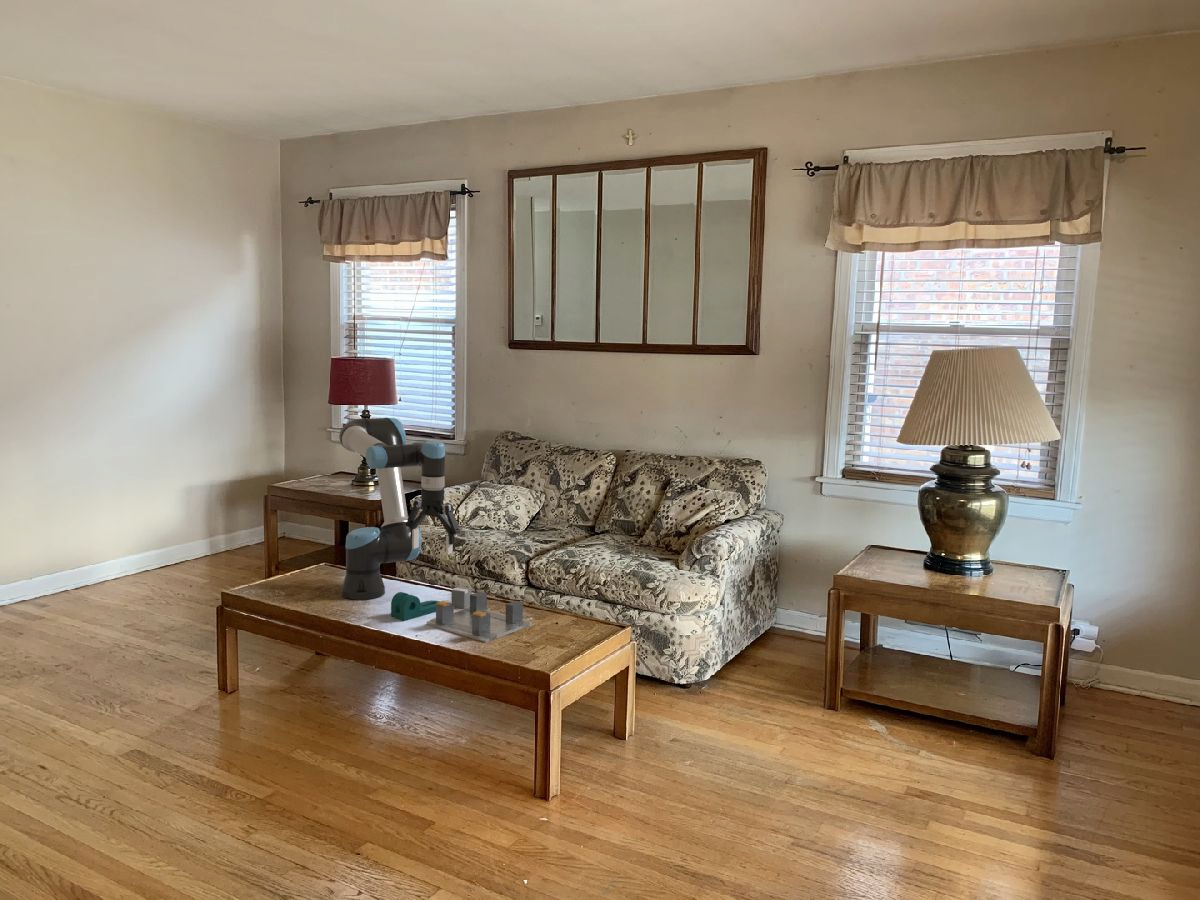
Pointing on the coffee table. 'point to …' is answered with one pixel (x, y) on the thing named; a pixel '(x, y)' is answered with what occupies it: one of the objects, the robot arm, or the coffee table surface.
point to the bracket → (410, 607)
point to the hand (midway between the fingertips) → (432, 550)
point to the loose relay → (461, 597)
